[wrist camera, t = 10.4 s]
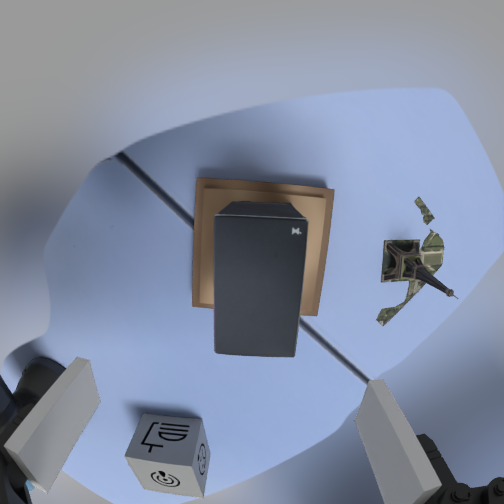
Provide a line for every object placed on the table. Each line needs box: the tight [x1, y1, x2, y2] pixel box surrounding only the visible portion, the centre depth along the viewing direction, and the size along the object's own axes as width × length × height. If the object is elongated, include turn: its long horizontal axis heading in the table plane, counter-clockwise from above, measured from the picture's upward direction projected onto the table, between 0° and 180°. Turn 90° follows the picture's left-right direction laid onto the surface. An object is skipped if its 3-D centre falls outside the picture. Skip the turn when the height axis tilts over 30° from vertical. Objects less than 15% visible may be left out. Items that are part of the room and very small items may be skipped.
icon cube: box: [124, 413, 210, 498], centre depth 37 cm, size 10×10×10 cm
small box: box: [214, 201, 309, 357], centre depth 25 cm, size 11×6×10 cm, turn 178°
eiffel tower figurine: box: [376, 197, 458, 326], centre depth 28 cm, size 15×10×13 cm
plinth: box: [192, 178, 334, 316], centre depth 32 cm, size 14×14×4 cm
